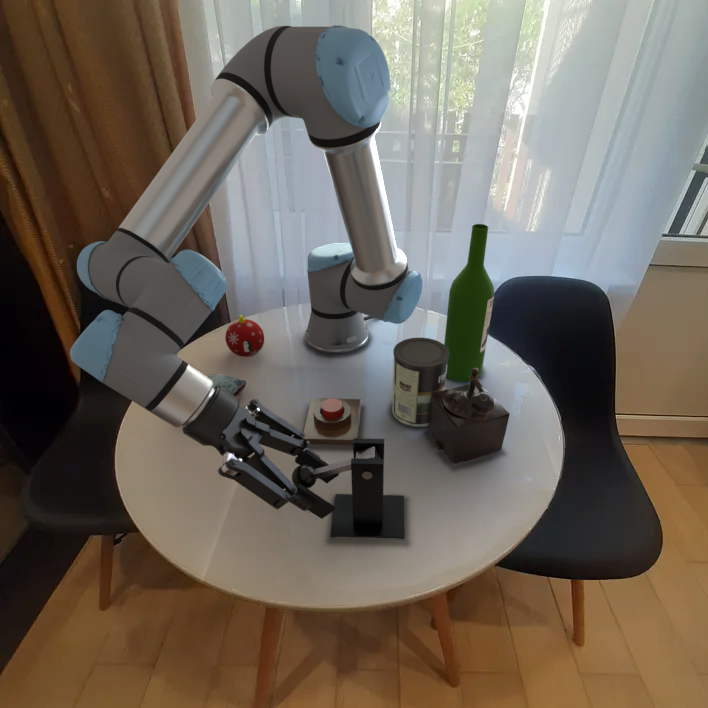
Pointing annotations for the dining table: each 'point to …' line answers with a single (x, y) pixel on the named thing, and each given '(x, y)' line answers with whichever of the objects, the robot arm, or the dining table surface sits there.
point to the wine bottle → (469, 311)
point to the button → (332, 408)
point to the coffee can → (417, 378)
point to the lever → (328, 468)
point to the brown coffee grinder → (467, 421)
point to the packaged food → (228, 383)
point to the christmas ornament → (244, 337)
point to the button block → (332, 423)
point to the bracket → (368, 500)
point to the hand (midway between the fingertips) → (330, 494)
